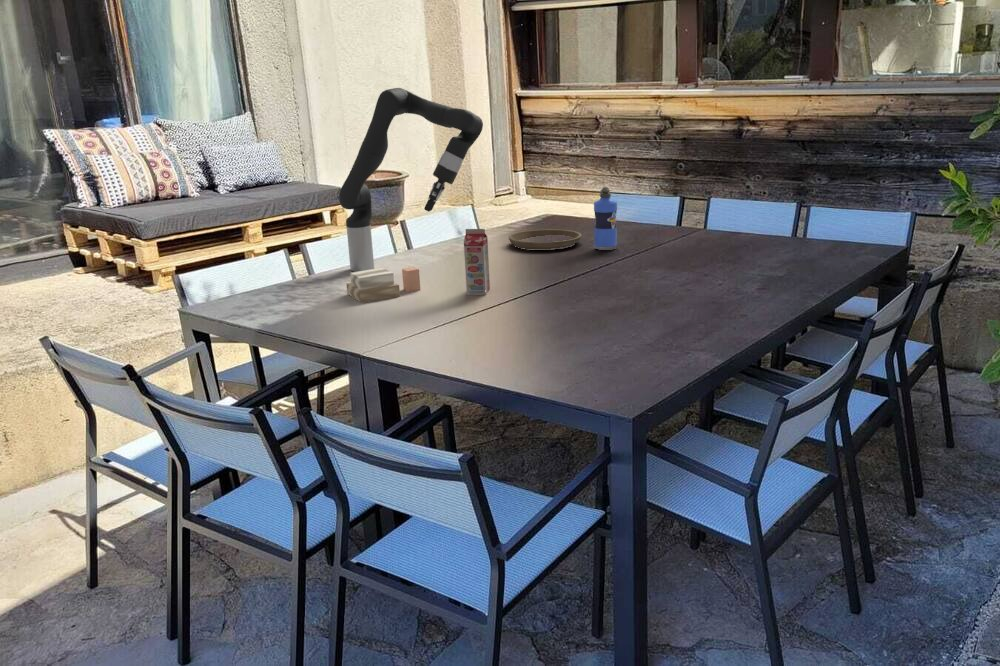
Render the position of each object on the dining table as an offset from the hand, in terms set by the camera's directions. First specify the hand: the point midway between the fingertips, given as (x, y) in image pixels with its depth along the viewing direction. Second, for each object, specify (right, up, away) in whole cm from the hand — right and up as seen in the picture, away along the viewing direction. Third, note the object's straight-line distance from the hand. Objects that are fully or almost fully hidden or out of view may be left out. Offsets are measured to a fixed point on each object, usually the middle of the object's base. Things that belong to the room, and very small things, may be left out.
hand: (427, 210), depth 302 cm
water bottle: (+68, -8, +59) cm, 90 cm away
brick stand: (-19, -29, +1) cm, 35 cm away
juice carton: (+18, -29, -1) cm, 34 cm away
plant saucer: (+44, -5, +71) cm, 84 cm away
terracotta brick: (-6, -27, +6) cm, 28 cm away
